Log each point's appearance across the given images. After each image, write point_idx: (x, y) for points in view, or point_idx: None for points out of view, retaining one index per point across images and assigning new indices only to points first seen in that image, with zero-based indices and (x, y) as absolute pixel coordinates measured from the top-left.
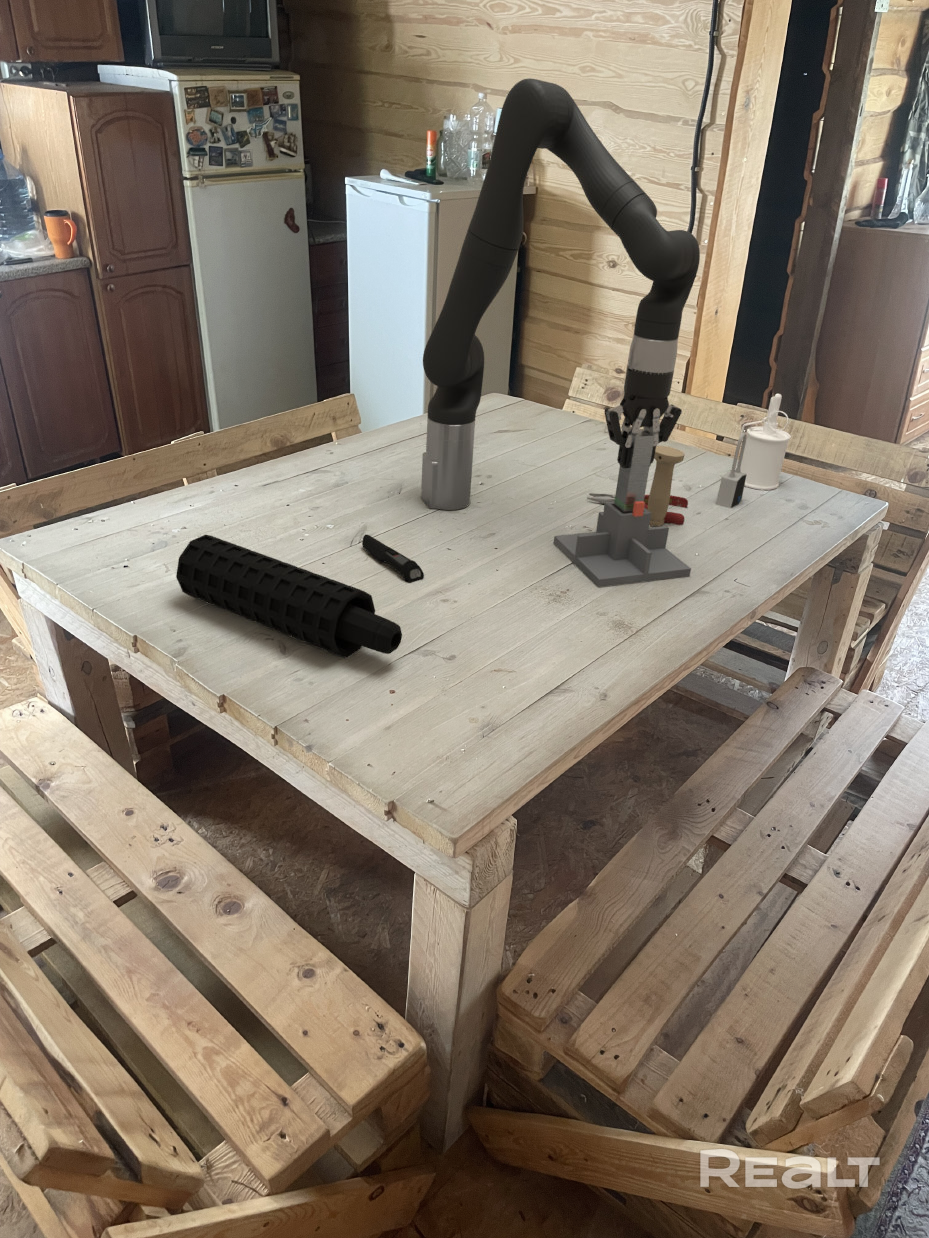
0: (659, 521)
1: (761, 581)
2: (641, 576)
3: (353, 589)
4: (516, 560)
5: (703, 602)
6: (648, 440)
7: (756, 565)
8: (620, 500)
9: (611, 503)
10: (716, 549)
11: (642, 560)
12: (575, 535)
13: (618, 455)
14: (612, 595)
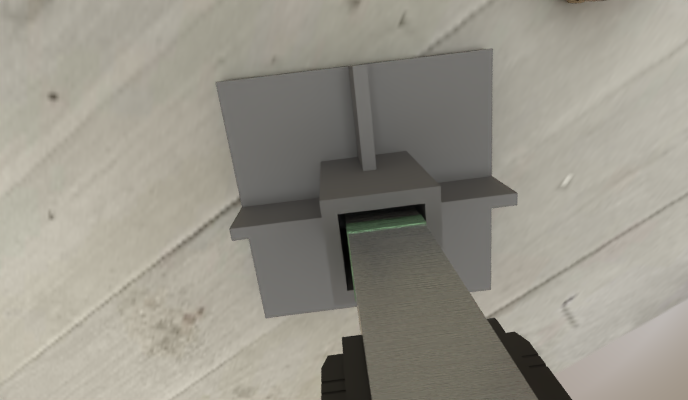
0: (579, 2)
1: (616, 310)
2: None
3: None
4: (104, 171)
5: None
6: None
7: (661, 246)
8: (352, 270)
9: (341, 209)
10: (631, 160)
11: None
12: (278, 86)
13: (322, 393)
14: (287, 336)
